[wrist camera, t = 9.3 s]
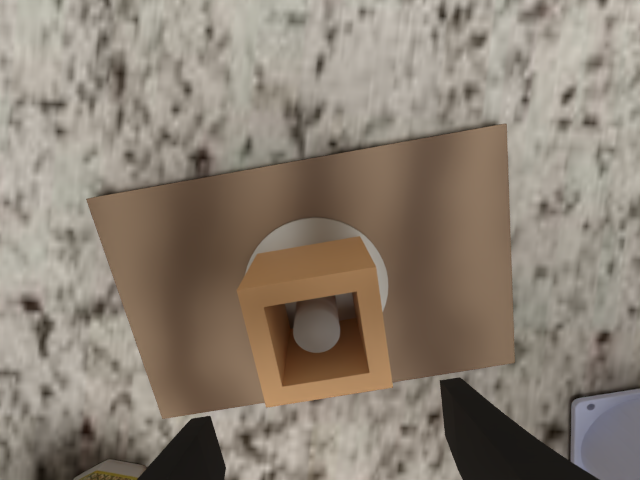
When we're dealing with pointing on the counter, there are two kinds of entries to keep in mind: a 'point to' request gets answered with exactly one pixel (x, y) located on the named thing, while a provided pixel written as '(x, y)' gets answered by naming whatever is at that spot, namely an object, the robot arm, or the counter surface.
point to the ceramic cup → (113, 471)
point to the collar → (276, 336)
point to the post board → (311, 228)
